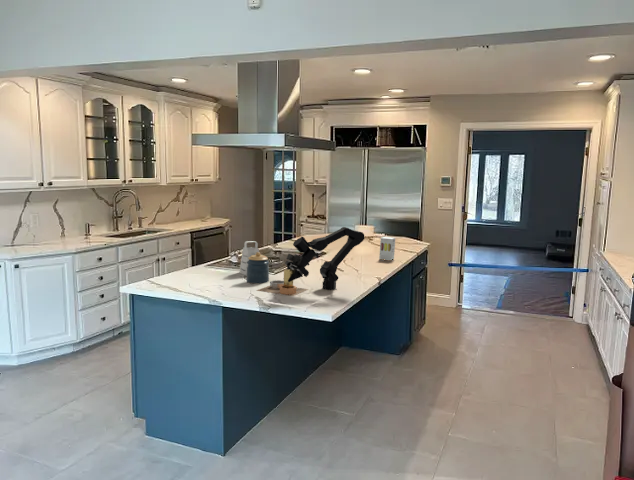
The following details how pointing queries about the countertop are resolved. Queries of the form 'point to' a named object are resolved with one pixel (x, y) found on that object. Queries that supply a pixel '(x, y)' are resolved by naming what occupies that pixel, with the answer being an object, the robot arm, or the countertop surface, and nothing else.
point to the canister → (257, 269)
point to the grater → (247, 256)
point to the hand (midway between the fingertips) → (286, 280)
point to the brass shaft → (286, 276)
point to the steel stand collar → (276, 284)
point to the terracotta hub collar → (287, 290)
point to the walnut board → (277, 291)
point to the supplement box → (387, 248)
